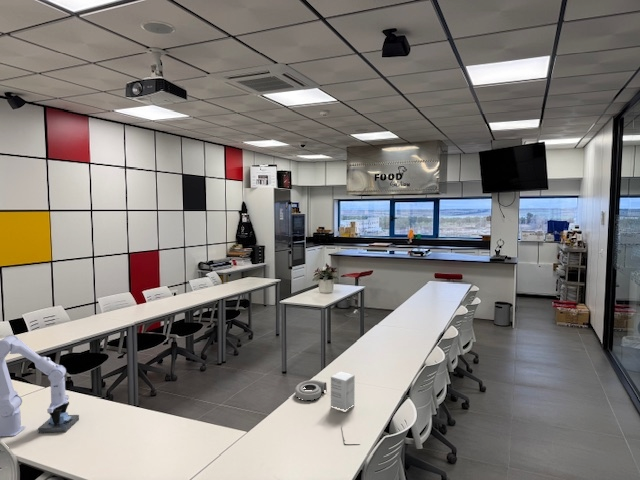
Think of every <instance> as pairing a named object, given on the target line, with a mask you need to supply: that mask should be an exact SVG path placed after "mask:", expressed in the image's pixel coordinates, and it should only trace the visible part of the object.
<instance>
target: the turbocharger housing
mask: <svg viewBox="0 0 640 480" xmlns="http://www.w3.org/2000/svg"><path fill="white" fill-rule="evenodd" d="M304 387H305V388H306V389H303V388H304ZM327 388H328V385H327V382H326V381H322V380H316V379H309V380H305V381H301V382H300V383H297V385H296V386H295V389H294V392H295V393H294V394H295V397H296V398H297V397H298V398H300V399H303V400H311V401H314V399H315V400H317V399H318V398H320V397H321V395H322V392H324V390H326V392H327V390H328V389H327ZM305 390H312V391H305ZM298 398H297V399H298Z"/></svg>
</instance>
